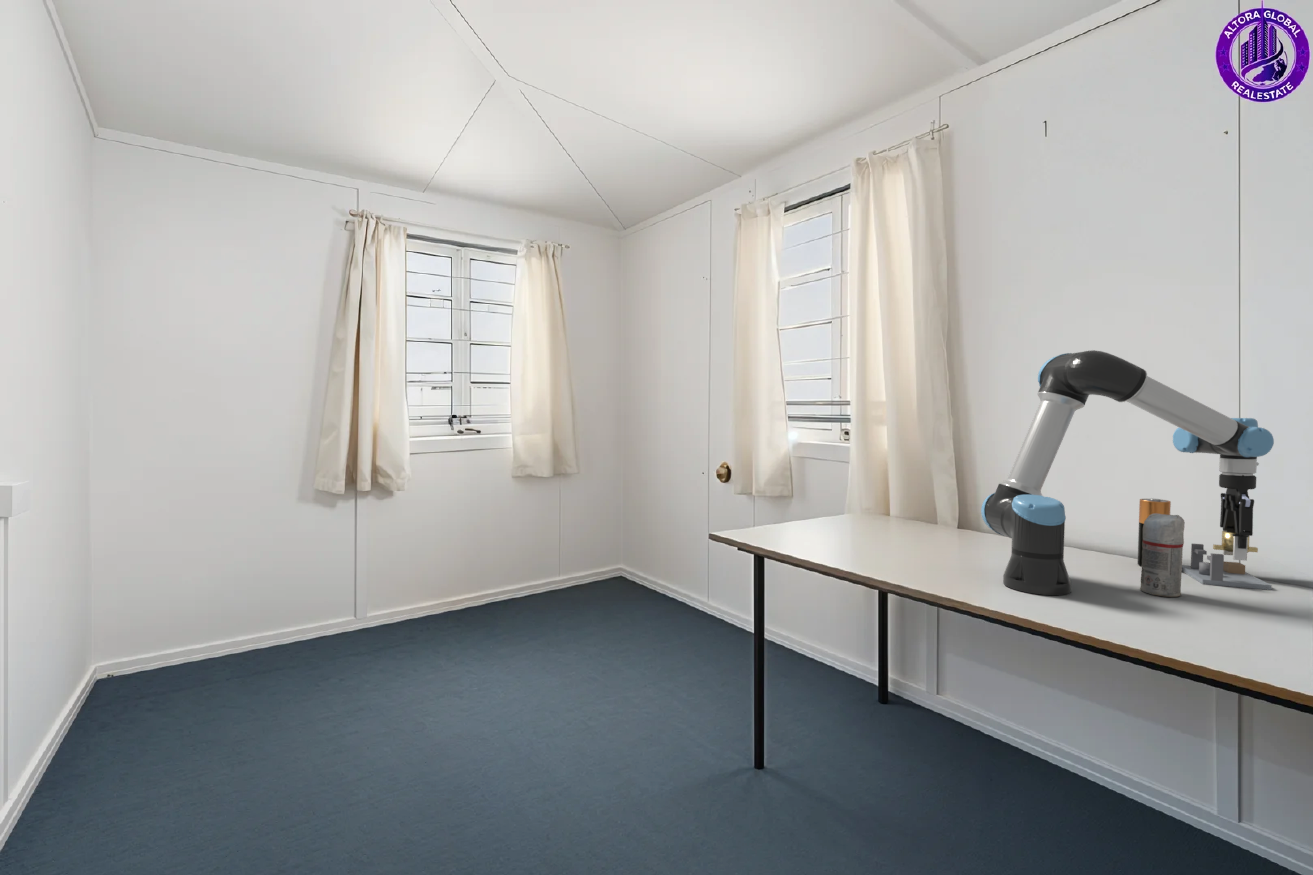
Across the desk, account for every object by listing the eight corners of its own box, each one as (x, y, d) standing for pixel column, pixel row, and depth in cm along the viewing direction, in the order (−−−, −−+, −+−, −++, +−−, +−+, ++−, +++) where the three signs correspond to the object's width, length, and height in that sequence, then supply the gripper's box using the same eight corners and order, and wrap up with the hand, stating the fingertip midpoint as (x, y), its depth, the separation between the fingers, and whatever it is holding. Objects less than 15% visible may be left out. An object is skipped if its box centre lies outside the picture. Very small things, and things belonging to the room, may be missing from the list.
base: (1202, 584, 166) (1203, 553, 166) (1178, 568, 182) (1179, 540, 182) (1271, 590, 161) (1272, 558, 161) (1240, 573, 177) (1241, 544, 176)
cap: (1251, 549, 174) (1252, 530, 174) (1261, 554, 169) (1262, 534, 169) (1209, 547, 178) (1210, 528, 178) (1218, 551, 173) (1218, 531, 173)
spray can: (1190, 599, 153) (1193, 518, 152) (1151, 597, 155) (1154, 516, 154) (1169, 589, 162) (1172, 512, 161) (1133, 587, 163) (1135, 511, 162)
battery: (1138, 567, 184) (1140, 499, 183) (1136, 562, 190) (1138, 496, 189) (1169, 570, 180) (1172, 501, 179) (1167, 565, 186) (1169, 498, 185)
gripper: (1272, 477, 163) (1269, 566, 164) (1239, 471, 180) (1236, 551, 181) (1235, 476, 166) (1232, 563, 167) (1206, 470, 183) (1203, 549, 184)
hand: (1234, 557), depth 174 cm, fingers closed on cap, 5 cm apart
